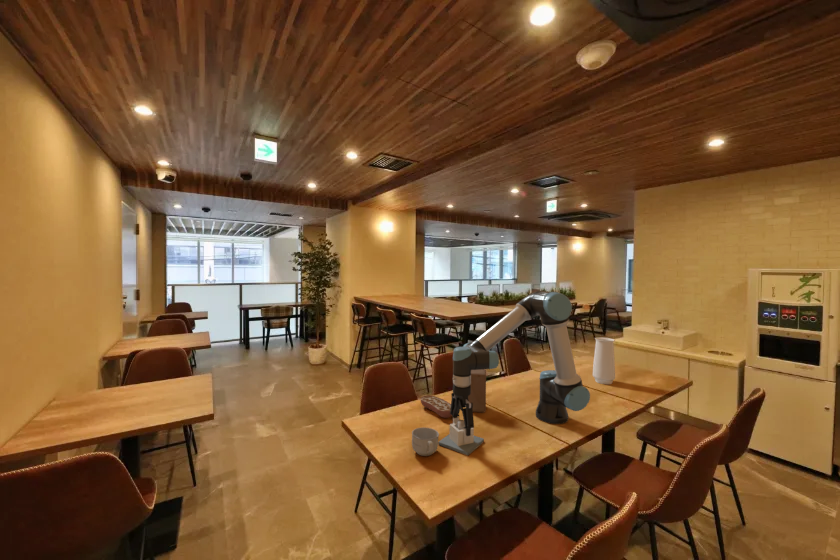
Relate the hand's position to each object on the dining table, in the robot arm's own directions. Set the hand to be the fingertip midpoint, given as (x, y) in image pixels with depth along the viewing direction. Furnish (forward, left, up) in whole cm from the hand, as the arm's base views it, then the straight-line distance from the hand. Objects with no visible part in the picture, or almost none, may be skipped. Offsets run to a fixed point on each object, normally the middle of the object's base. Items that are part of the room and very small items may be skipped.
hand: (461, 437), depth 147 cm
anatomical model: (+26, -21, -3) cm, 33 cm away
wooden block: (+12, -36, -3) cm, 38 cm away
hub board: (0, 0, -2) cm, 2 cm away
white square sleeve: (-1, -1, -1) cm, 2 cm away
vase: (-34, -125, -3) cm, 130 cm away
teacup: (+7, +16, -3) cm, 18 cm away
